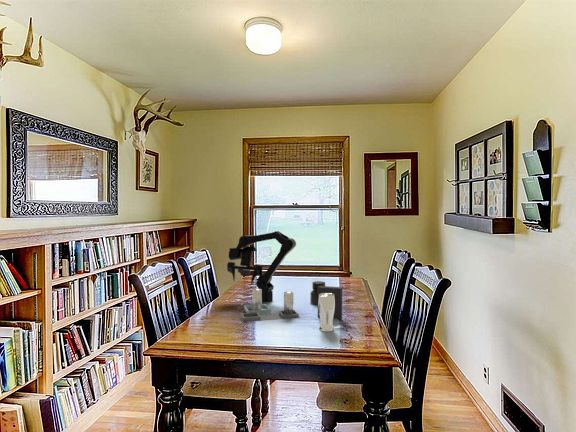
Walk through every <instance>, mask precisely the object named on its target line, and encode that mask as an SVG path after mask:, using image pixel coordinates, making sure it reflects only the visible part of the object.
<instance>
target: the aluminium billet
mask: <svg viewBox="0 0 576 432" xmlns="http://www.w3.org/2000/svg"><path fill="white" fill-rule="evenodd" d="M251 298H252V303H251V305H252V309H251V310H263V308H262V304H263V302H262V289H260V288H258V287H256V288H252V297H251Z"/></svg>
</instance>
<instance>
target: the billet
mask: <svg viewBox="0 0 576 432" xmlns="http://www.w3.org/2000/svg"><path fill="white" fill-rule="evenodd" d="M293 310H294V292H293V291H289V290H288V291H284V292H283V311H284V315H287V314H293Z"/></svg>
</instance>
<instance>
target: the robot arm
mask: <svg viewBox="0 0 576 432" xmlns="http://www.w3.org/2000/svg"><path fill="white" fill-rule="evenodd" d="M269 240H270V241H271V240H276V241H277V242H278V243H279V244H280V245H281V246H280V248H279V252H278V254H276V256H275V258H274V259H273V260H272V263H270V265H269V267H268V268H267V270H266V271H264V272H263V268H264V267H263V265H262V264H254V265H255V266H252V260H253V253H254V252H257V249H256V246H254V244H256V243H258V242H264V241H269ZM250 245H251V246H250ZM296 246H297V241H296V240H295V239H294V238H292V237H289V236H287V235H285V234H283V233H282V232H281V231H279V230H276V231H272V232H268V233H267V232H266V233H261V234H258V235H257V234H255V235H254V234H253V235H252V234H251V235H250V234H248V235H241V236H240V237H239V238H238V243H237V246H236V247H230V248H229V250H228V251H229V252H228V258H229V261H228V262H227V264H226V269H227V272H228V273H230V274H232V281H233V282H235V281H236V270H237V273H239V274H240V275H241V276H243V277H244V276H245V277H246V276H247V277H250V276H251V280H250V281H251V284H252V283H254V280H255V278H256V277H257V276H258V277H257V278H256V281H255V284H256V285H255V286H256V288H260V289H262V303H271V302H273V301H274V300H273V298H274V297H273V292H274V291H273V290H274V287H275V286H274V285H273V284H272V283H271V282H272V279H273V276H274V274H275V273H276V272H277V270H278V268H279V267H280V266H281V264H282V262H283V260H284V259H285V258H286V256H288V254H289V253H290V252H292V251H293V250H294V248H295V247H296ZM237 260H240V263H239V264H240V265H239V264H236V262H234V261H237ZM232 261H233V262H232ZM252 271H253V272H252ZM251 272H252V275H250V274H251Z"/></svg>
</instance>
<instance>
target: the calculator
mask: <svg viewBox="0 0 576 432" xmlns="http://www.w3.org/2000/svg"><path fill="white" fill-rule="evenodd" d="M321 293H332V294H334V298H335V310H334V316H333V319H334V320H338V321H340V322H341V321H342V319H343V287H341V286H327V285H325V286H319V287H318V288H317V295H318V301H319V294H321ZM317 317H318V318H320V314H319V307H318V306H317Z"/></svg>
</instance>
